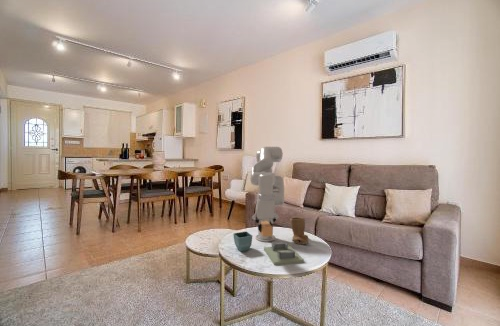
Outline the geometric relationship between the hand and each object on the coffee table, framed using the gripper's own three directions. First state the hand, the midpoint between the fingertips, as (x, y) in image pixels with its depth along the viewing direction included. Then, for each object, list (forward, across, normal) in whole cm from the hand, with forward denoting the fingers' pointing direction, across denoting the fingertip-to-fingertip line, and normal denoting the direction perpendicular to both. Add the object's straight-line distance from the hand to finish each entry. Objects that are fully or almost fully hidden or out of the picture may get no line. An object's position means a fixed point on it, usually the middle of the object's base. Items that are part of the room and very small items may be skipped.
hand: (265, 230), depth 134 cm
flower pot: (+16, +10, -14) cm, 23 cm away
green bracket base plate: (+15, -10, -2) cm, 18 cm away
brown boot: (+16, -28, -22) cm, 39 cm away
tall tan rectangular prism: (+1, 0, 0) cm, 1 cm away
